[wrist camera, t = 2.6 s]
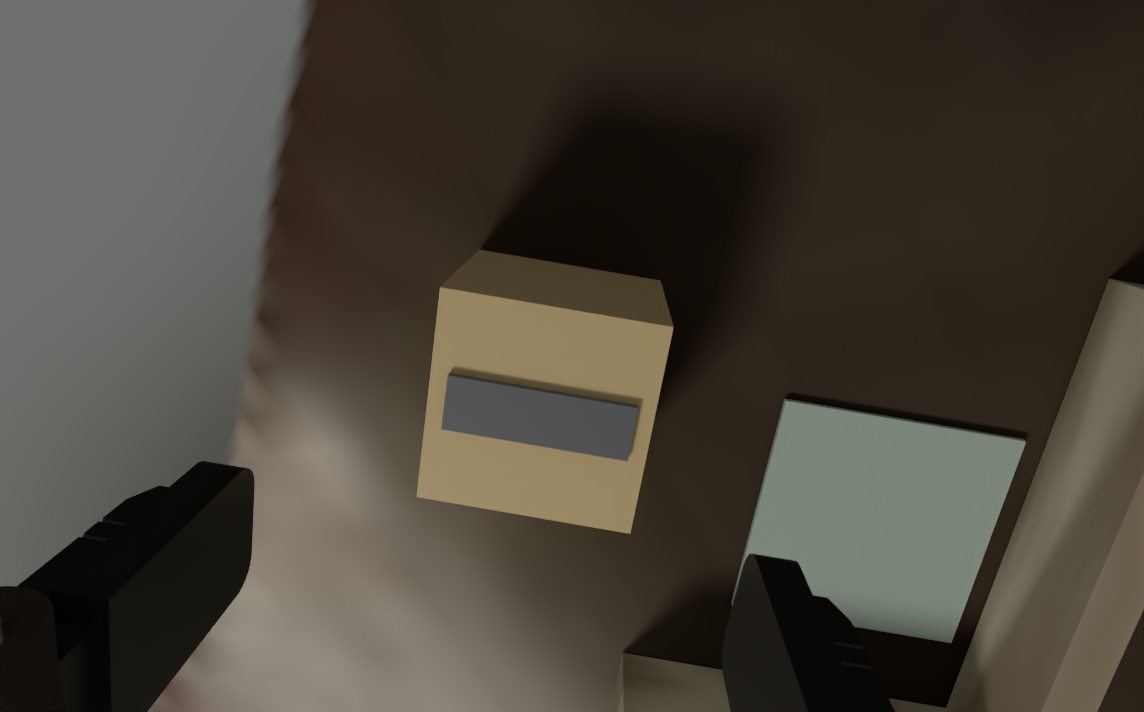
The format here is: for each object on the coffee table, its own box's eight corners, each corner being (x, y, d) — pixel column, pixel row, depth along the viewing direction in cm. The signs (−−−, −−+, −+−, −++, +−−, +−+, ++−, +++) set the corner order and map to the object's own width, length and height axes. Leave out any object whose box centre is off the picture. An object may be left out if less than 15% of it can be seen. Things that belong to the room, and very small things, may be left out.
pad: (1022, 439, 24) (1026, 441, 24) (948, 639, 26) (951, 643, 26) (784, 398, 24) (786, 400, 24) (731, 602, 26) (732, 605, 26)
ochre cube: (660, 280, 23) (673, 329, 18) (626, 445, 25) (630, 537, 19) (480, 249, 23) (438, 288, 18) (459, 416, 25) (414, 500, 19)
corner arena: (1160, 287, 22) (1274, 322, 18) (974, 748, 27) (1033, 851, 23) (717, 212, 22) (739, 232, 18) (615, 687, 27) (615, 780, 23)
